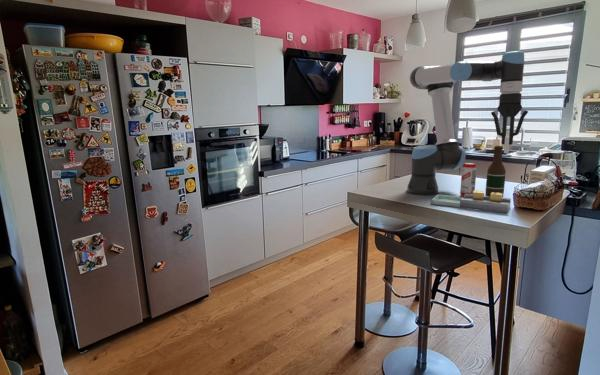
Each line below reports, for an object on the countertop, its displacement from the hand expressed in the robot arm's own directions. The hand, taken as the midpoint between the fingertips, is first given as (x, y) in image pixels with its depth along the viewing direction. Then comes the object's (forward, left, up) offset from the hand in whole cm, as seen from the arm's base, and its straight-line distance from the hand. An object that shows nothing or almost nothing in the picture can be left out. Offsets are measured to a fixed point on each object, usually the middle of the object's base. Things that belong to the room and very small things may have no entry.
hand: (506, 152), depth 147 cm
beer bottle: (-5, +22, -24) cm, 33 cm away
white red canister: (-16, +17, -24) cm, 33 cm away
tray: (-21, 0, -24) cm, 32 cm away
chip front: (-2, 0, -21) cm, 21 cm away
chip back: (-9, 0, -21) cm, 23 cm away
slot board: (-6, 0, -24) cm, 25 cm away
